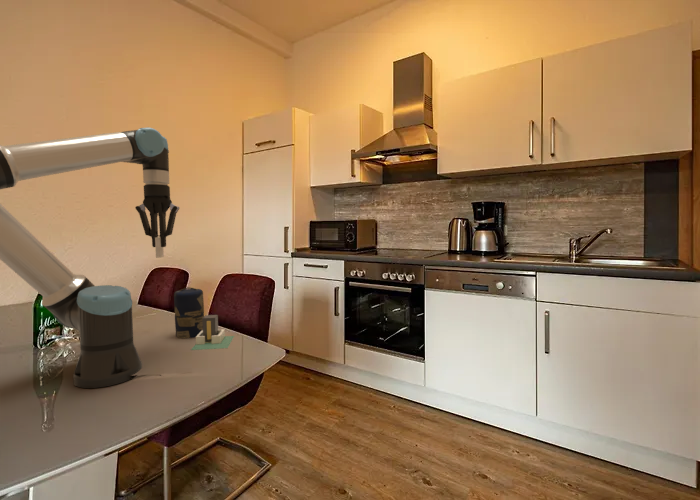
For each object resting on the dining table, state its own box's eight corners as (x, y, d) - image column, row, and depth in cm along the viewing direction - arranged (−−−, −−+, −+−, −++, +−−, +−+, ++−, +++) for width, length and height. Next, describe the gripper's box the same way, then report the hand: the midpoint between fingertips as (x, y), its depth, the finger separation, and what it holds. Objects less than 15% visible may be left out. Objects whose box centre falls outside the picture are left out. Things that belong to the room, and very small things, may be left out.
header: (220, 343, 120) (220, 335, 120) (195, 344, 119) (195, 337, 119) (224, 336, 127) (224, 329, 127) (201, 337, 126) (201, 330, 126)
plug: (215, 341, 121) (214, 318, 121) (202, 342, 120) (202, 318, 120) (218, 337, 125) (217, 314, 125) (206, 338, 125) (205, 315, 124)
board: (227, 351, 115) (227, 348, 115) (190, 353, 114) (190, 350, 114) (234, 339, 128) (234, 335, 128) (201, 340, 127) (201, 337, 126)
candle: (197, 341, 125) (196, 289, 124) (170, 342, 126) (168, 289, 124) (209, 333, 135) (207, 285, 134) (183, 333, 135) (181, 285, 134)
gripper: (181, 186, 124) (184, 255, 125) (140, 185, 122) (143, 256, 123) (174, 183, 116) (177, 257, 118) (129, 183, 114) (133, 258, 116)
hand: (159, 257), depth 121 cm, fingers closed
